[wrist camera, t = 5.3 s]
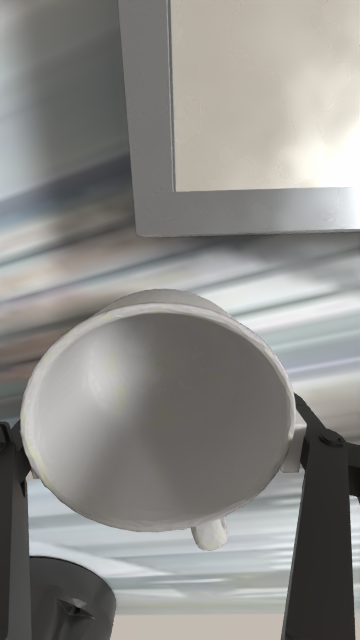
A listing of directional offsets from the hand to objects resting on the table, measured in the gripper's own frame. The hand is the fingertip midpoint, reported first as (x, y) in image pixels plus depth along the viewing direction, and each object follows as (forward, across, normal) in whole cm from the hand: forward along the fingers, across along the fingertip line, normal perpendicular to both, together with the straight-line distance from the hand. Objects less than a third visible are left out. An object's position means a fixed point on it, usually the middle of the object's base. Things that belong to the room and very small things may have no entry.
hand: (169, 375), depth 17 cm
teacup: (+1, 0, 0) cm, 1 cm away
